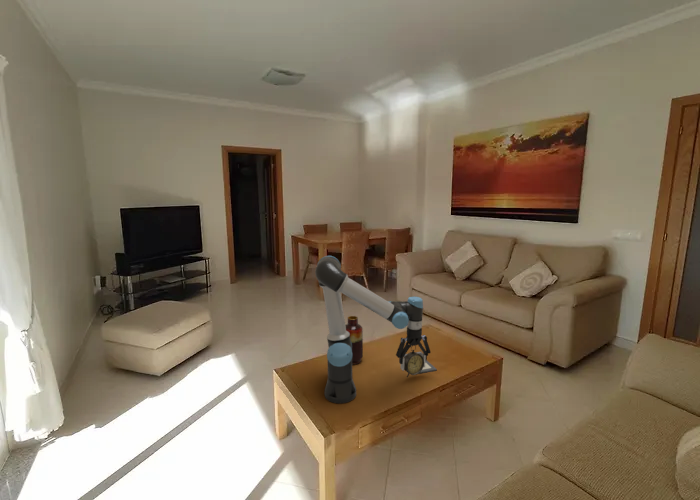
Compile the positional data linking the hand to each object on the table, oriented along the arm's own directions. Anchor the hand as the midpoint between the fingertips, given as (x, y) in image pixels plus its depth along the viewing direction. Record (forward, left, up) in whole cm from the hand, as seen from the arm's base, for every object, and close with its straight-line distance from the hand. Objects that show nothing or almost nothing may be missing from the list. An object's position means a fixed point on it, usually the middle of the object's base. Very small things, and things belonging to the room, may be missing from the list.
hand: (412, 367), depth 174 cm
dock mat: (+10, +11, -6) cm, 16 cm away
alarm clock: (0, 0, -4) cm, 4 cm away
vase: (-24, +28, -6) cm, 37 cm away
